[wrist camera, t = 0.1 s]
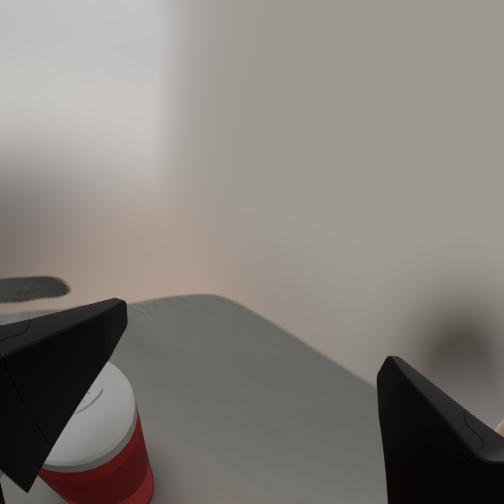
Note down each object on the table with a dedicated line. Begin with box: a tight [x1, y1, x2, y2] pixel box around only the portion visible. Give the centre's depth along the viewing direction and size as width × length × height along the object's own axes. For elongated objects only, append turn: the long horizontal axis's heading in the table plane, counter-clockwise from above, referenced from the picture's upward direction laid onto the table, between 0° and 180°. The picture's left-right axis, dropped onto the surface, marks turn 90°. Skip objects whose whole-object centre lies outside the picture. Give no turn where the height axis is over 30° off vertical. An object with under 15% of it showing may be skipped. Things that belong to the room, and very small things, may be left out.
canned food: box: [38, 362, 154, 504], centre depth 11 cm, size 8×8×11 cm
